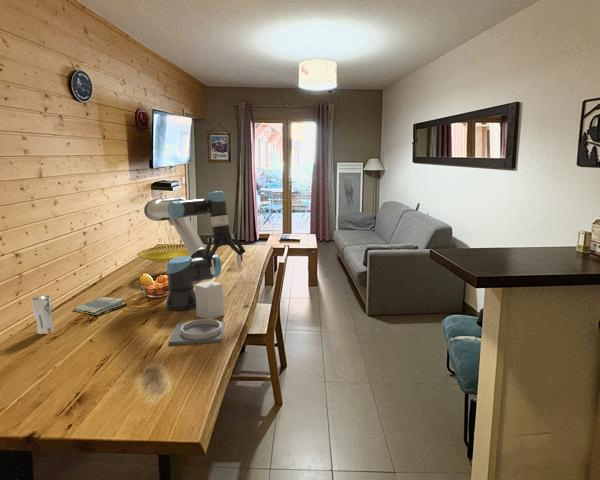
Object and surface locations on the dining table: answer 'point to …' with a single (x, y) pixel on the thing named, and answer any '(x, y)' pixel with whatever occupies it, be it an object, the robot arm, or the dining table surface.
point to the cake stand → (164, 254)
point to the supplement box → (209, 300)
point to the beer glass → (42, 313)
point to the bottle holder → (197, 332)
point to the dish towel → (100, 305)
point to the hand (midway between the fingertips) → (227, 271)
